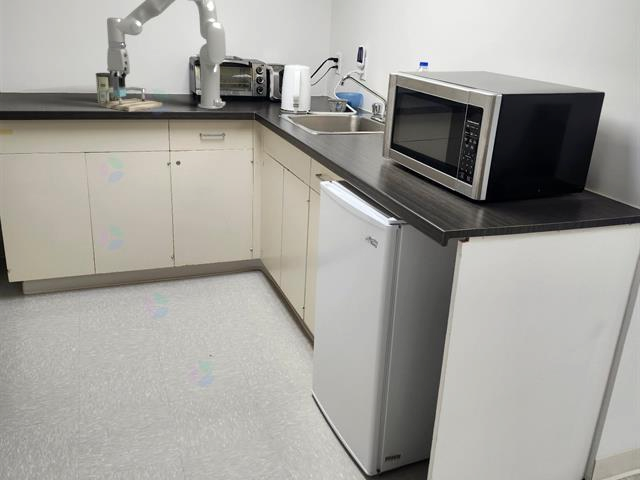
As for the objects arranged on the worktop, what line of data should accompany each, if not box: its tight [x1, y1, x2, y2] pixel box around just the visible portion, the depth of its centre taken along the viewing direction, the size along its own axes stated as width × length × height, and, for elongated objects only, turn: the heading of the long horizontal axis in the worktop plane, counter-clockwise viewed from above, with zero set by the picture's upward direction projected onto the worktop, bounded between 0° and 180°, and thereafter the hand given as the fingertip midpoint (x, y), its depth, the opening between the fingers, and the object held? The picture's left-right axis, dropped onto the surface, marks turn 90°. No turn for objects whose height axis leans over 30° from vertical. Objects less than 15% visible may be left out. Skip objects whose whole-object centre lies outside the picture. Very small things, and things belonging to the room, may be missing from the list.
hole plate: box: [100, 97, 163, 113], centre depth 290 cm, size 18×23×2 cm
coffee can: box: [95, 72, 119, 104], centre depth 297 cm, size 10×10×14 cm
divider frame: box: [104, 86, 146, 103], centre depth 289 cm, size 8×20×6 cm, turn 153°
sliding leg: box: [112, 75, 127, 103], centre depth 281 cm, size 4×5×12 cm
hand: (119, 85), depth 280 cm, fingers closed on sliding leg, 3 cm apart
